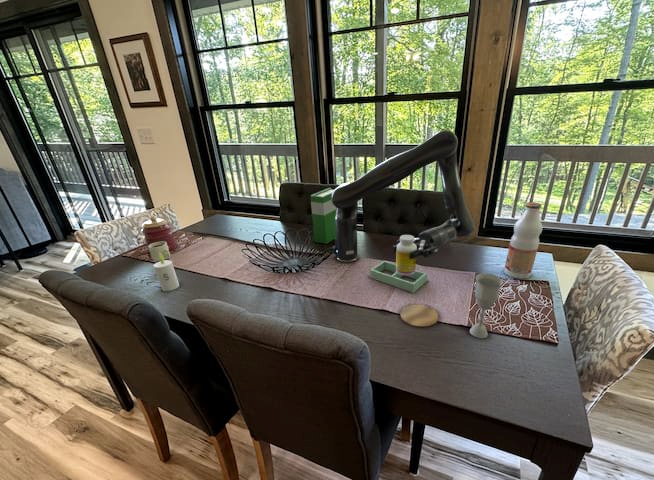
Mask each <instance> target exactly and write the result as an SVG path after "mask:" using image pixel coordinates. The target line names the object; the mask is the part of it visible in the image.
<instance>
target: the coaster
mask: <svg viewBox="0 0 654 480" xmlns="http://www.w3.org/2000/svg"><path fill="white" fill-rule="evenodd" d="M399 314H400V318H401V321H403V322H404V323H405V324H407V325H410V326H412V327H416V328H426V327H431V326H434V325H436V324H437V323H438V320H439V313H438V312H437V311H436V310H435V309H434V308H432V307H430V306H428V305H425V304H415V303H414V304H409V305H406V306H404V307H402V309H401V310H400V313H399Z"/></svg>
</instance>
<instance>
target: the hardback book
mask: <svg viewBox="0 0 654 480" xmlns="http://www.w3.org/2000/svg"><path fill="white" fill-rule="evenodd" d="M334 190H335V189H332V187H328V188H325V189H323V190H320V191H318V192H316V193H313V194H311V195H309V197H310V206H311V208H310V209H311V219H312V229H313V240H314V241H313V242H314V243H318V244H319V243H320V244H325V245H327V244H329V243H330V242H332V241H333V240H335V238H336V225H335V216H336V212H337V207H335V206H334V205H333V203H332V194H333V192H334Z"/></svg>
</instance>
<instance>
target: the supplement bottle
mask: <svg viewBox="0 0 654 480" xmlns="http://www.w3.org/2000/svg"><path fill="white" fill-rule="evenodd" d="M414 238H415V236H414V235H411V234H401V235H400V236H399V239H400V243H399V244H398V245H397V244H396V245H397V252H395V253H396V254H395V257H396V258H395V264H396V272H397V273H398V274H400V275H404V276H403V277H407V276H409V275H412V274H414V273H415V270H416V268H417V267H416V266H417V257H416V258H413V259H410V258H409V255H410V252H413V251H415V250H417V246H416V245H415V244H414V243H413V242H414Z"/></svg>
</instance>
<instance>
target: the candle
mask: <svg viewBox="0 0 654 480" xmlns="http://www.w3.org/2000/svg"><path fill="white" fill-rule="evenodd" d="M159 257H160V262H157V263H156V262H155V263H154V264H153V268H154V271H155V273H156V276H157V279H158V282H159V284H160V285H159V286H160V287H161V290H162V291H163V292H170V291H174V290H176V289H178V288H179V287H180V282H179V279H178V277H177V274H176V270H175V268H174V267H175V266H174V264H173V261H172V260H171V259H170V260H164V258H163V256H162V254H161V253H160V252H159Z"/></svg>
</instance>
